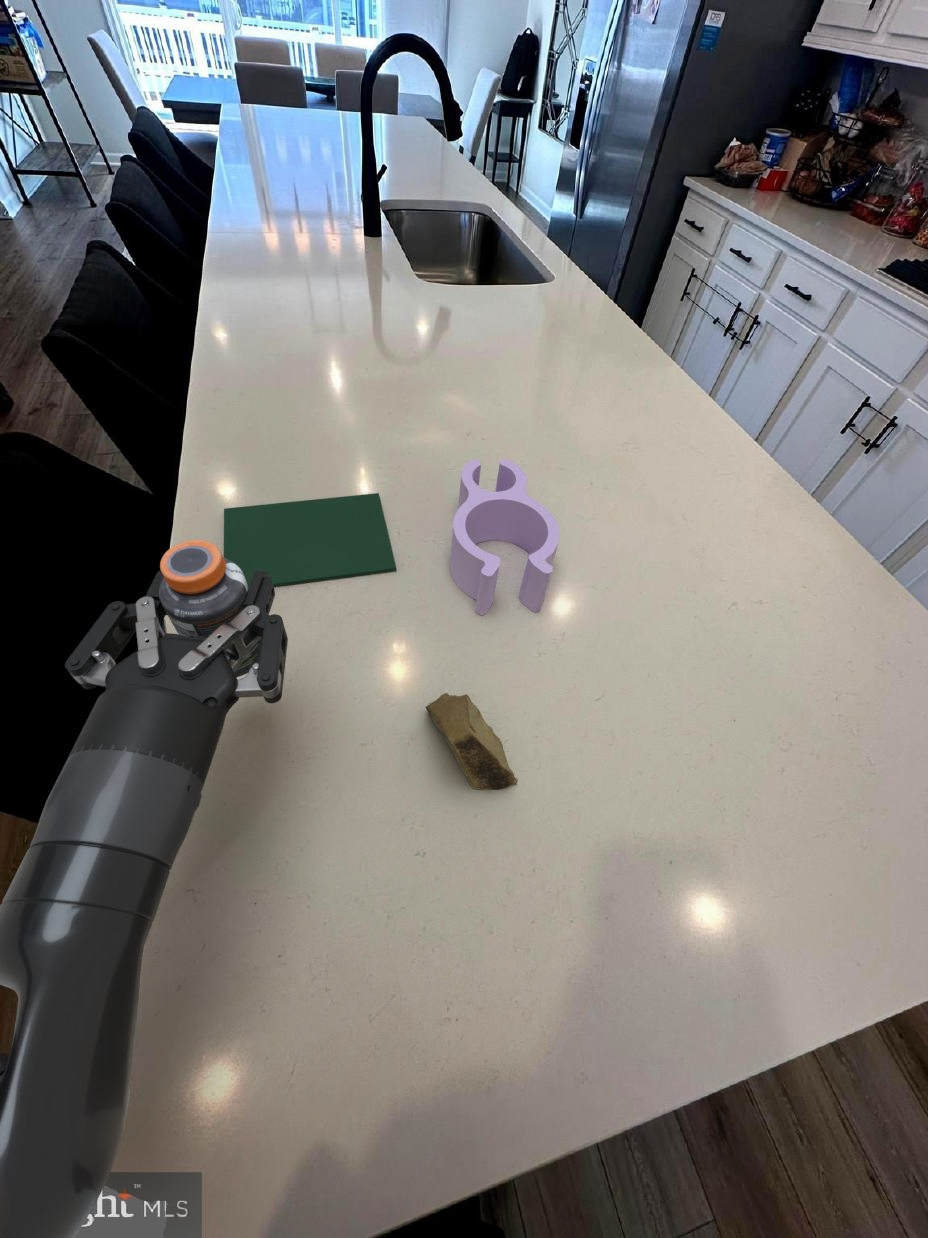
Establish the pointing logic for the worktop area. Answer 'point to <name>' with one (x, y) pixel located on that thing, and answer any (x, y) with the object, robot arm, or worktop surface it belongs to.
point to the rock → (472, 742)
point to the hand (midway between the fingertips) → (221, 573)
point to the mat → (309, 539)
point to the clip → (501, 535)
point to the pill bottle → (203, 592)
